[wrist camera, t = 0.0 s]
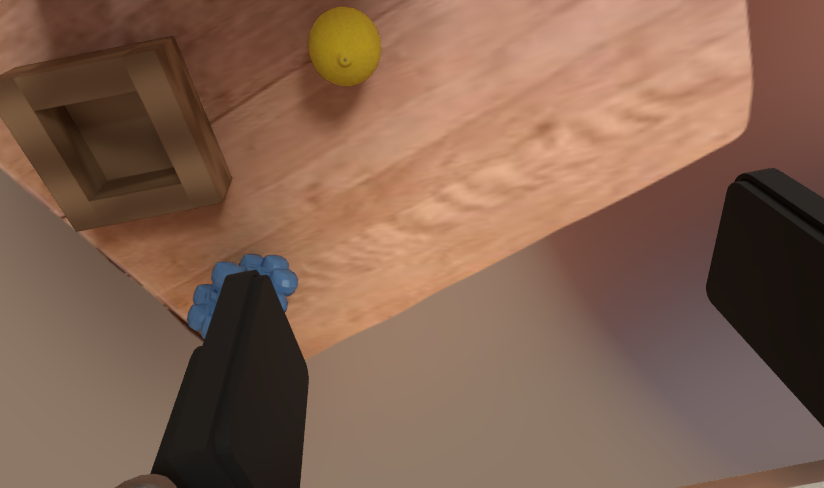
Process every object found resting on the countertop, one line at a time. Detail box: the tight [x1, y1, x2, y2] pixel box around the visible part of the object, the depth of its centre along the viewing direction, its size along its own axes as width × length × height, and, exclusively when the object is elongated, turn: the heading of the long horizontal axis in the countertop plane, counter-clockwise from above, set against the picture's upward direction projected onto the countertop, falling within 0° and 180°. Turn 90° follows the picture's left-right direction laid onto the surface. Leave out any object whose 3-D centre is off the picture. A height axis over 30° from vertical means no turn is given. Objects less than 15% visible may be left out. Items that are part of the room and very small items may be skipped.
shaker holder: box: [0, 36, 232, 232], centre depth 42 cm, size 13×13×5 cm
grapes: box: [187, 254, 298, 339], centre depth 48 cm, size 12×7×12 cm, turn 111°
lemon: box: [308, 7, 381, 86], centre depth 39 cm, size 6×6×8 cm
